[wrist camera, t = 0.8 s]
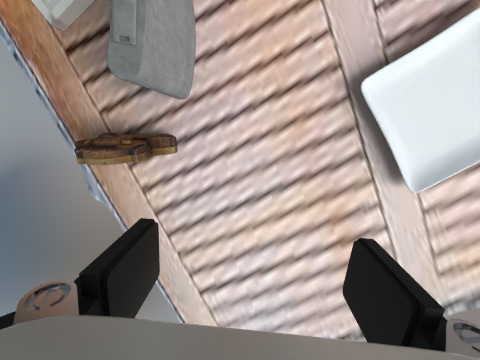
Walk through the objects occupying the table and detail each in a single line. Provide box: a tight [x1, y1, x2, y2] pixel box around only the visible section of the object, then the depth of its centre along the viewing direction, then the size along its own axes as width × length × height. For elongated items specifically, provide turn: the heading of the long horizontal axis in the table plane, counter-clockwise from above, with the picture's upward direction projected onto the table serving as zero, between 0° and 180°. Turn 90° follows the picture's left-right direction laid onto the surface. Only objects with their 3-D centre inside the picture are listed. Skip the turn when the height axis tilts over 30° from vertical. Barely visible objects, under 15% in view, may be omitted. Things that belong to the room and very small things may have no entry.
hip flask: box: [107, 0, 196, 99], centre depth 26 cm, size 16×4×20 cm, turn 175°
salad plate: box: [360, 7, 480, 193], centre depth 35 cm, size 21×21×3 cm
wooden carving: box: [74, 133, 178, 165], centre depth 35 cm, size 16×5×10 cm, turn 98°
